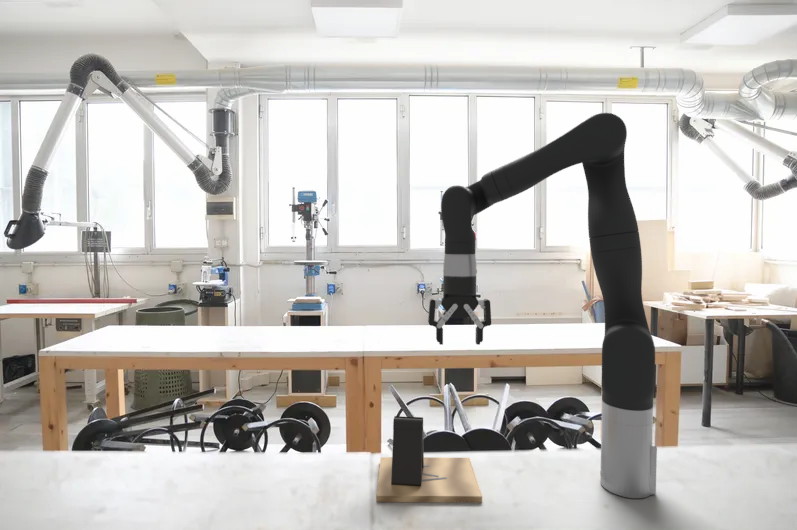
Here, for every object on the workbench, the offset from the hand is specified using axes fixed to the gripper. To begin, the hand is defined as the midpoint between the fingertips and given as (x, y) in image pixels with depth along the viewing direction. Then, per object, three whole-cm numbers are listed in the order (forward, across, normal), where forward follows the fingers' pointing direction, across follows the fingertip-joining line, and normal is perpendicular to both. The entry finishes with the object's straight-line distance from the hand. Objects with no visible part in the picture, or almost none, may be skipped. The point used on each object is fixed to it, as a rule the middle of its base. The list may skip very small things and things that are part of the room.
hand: (459, 343), depth 106 cm
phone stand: (+25, +12, +12) cm, 30 cm away
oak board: (+26, +8, +12) cm, 30 cm away
